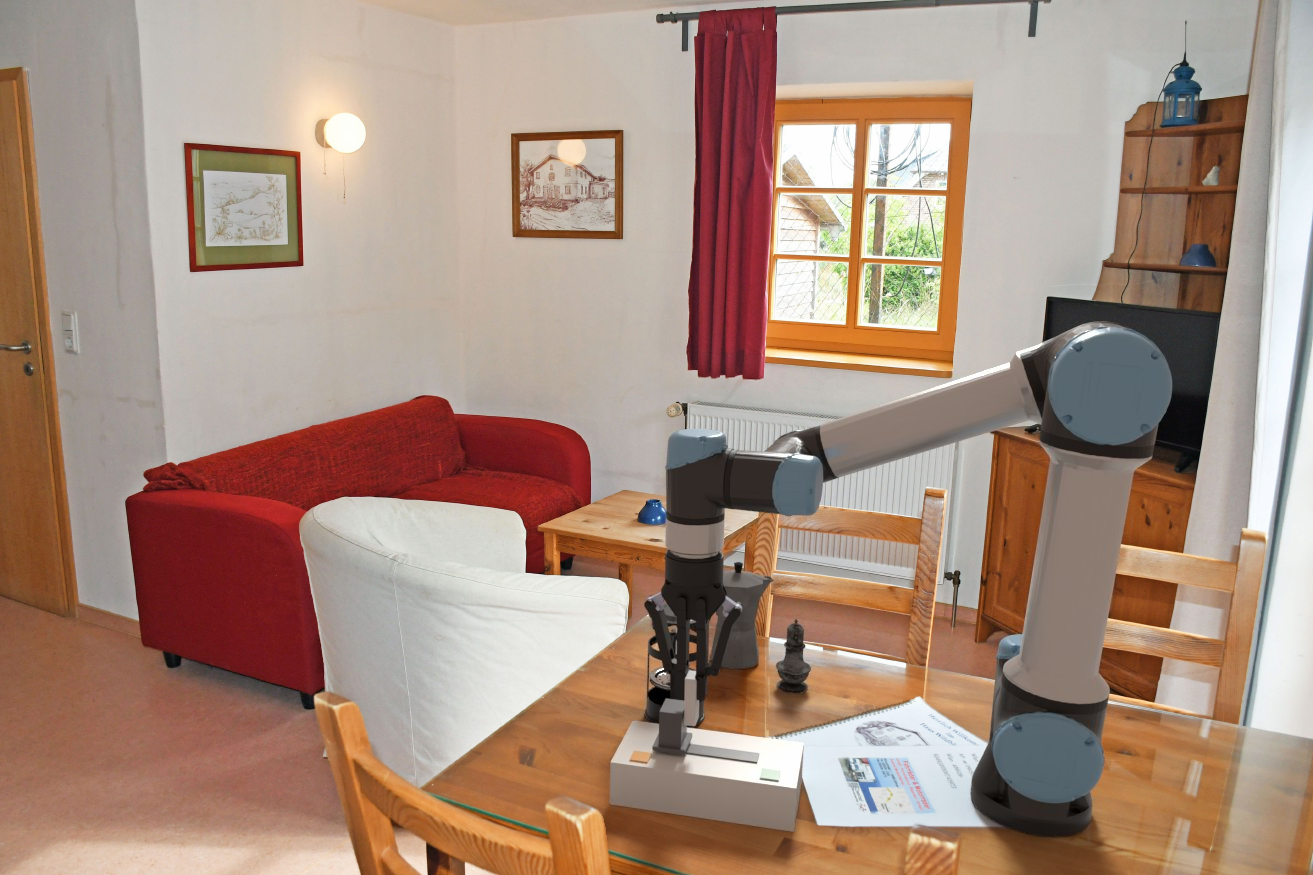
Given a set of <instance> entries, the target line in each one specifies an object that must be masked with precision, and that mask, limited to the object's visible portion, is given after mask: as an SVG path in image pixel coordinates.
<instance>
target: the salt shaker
mask: <svg viewBox="0 0 1313 875" xmlns="http://www.w3.org/2000/svg"><path fill="white" fill-rule="evenodd" d="M798 622H799V621H798V619H797V618H795V619H794V620H793V623H790V624H789V625H788V626H787V627H786V642H784V643H783V645H784V648H785V652H784V653H785V654H784V658H783V659H782V660H779V661H777V663H776V664H775V668H776V669H777V674H778V677H779V678H780V679H781V680H779V681H778V682H777V683H776V688H777V689H778V690H780V691H781V692H784V693H787V694H793V695H794V694H795V695H796V694H803V693H806V692H807V691H808V690H809V685H808V683H806V682H805V681H806V680H807V679H808V678H809V675H810V672H811V671H812V666H811V665H810V664H809V663H807V662H805V661H804V649H805V648H806V643H804V641H805V640H804V639H805V637H804V636H805V628H804V626H803V625H802V624H800V623H798Z"/></svg>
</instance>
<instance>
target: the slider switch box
mask: <svg viewBox="0 0 1313 875" xmlns="http://www.w3.org/2000/svg"><path fill="white" fill-rule="evenodd" d="M687 732H688V733H692V739H691V741H690V744H689V746H688V749H687V751H686V754H685V755H681V754H674V753H667V752H659V751H652V746H653V744H654V742H655V740H656V738H657V736H658V734H659V724H657V723H650V722H649V721H640V720H632V721H631V724H629V727H628V729H627V731H626V733H625V734H624V736H623V738H622V740H621V742H620V744H619V746H618V748H617V749H616V751H615V753H614V754H613V756H612V759H611V760H610V764H609V770H610V771H609V772H610V773H609V805H612V806H619V807H626V808H631V809H632V808H633V809H638V810H645V811H652V812H659V813H665V814H673V815H679V816H684V817H685V816H686V817H691V818H693V817H694V818H699V819H705V820H712V821H719V822H724V823H731V824H737V825H738V824H739V825H744V826H753V827H757V828H758V827H759V828H765V829H771V830H779V831H784V832H793V833H794V832H795V827H796V822H797V821H796V820H797V814H798V810H799V809H798V808H799V802H800V796H801V788H802V783H803V782H802V781H803V764H804V748H805V742H802V741H801V742H800V741H793V740H792V741H791V740H785V739H779V738H770V737H762V736H755V735H748V734H747V735H746V734H741V733H731V732H726V731H725V732H724V731H717V730H709V729H703V728H702V729H701V728H694V727H691V728H687Z"/></svg>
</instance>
